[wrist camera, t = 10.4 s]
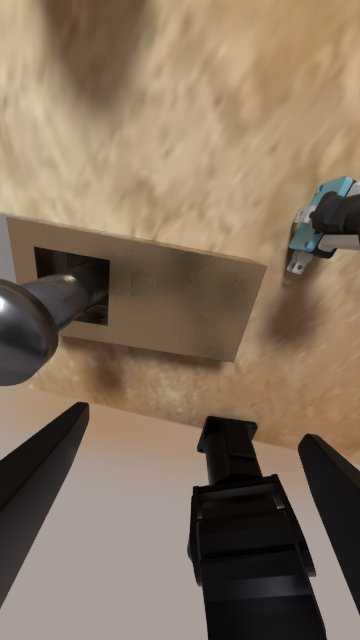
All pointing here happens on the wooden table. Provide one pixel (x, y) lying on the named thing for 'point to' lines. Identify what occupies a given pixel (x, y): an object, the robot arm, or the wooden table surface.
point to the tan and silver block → (142, 287)
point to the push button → (327, 223)
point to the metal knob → (43, 316)
